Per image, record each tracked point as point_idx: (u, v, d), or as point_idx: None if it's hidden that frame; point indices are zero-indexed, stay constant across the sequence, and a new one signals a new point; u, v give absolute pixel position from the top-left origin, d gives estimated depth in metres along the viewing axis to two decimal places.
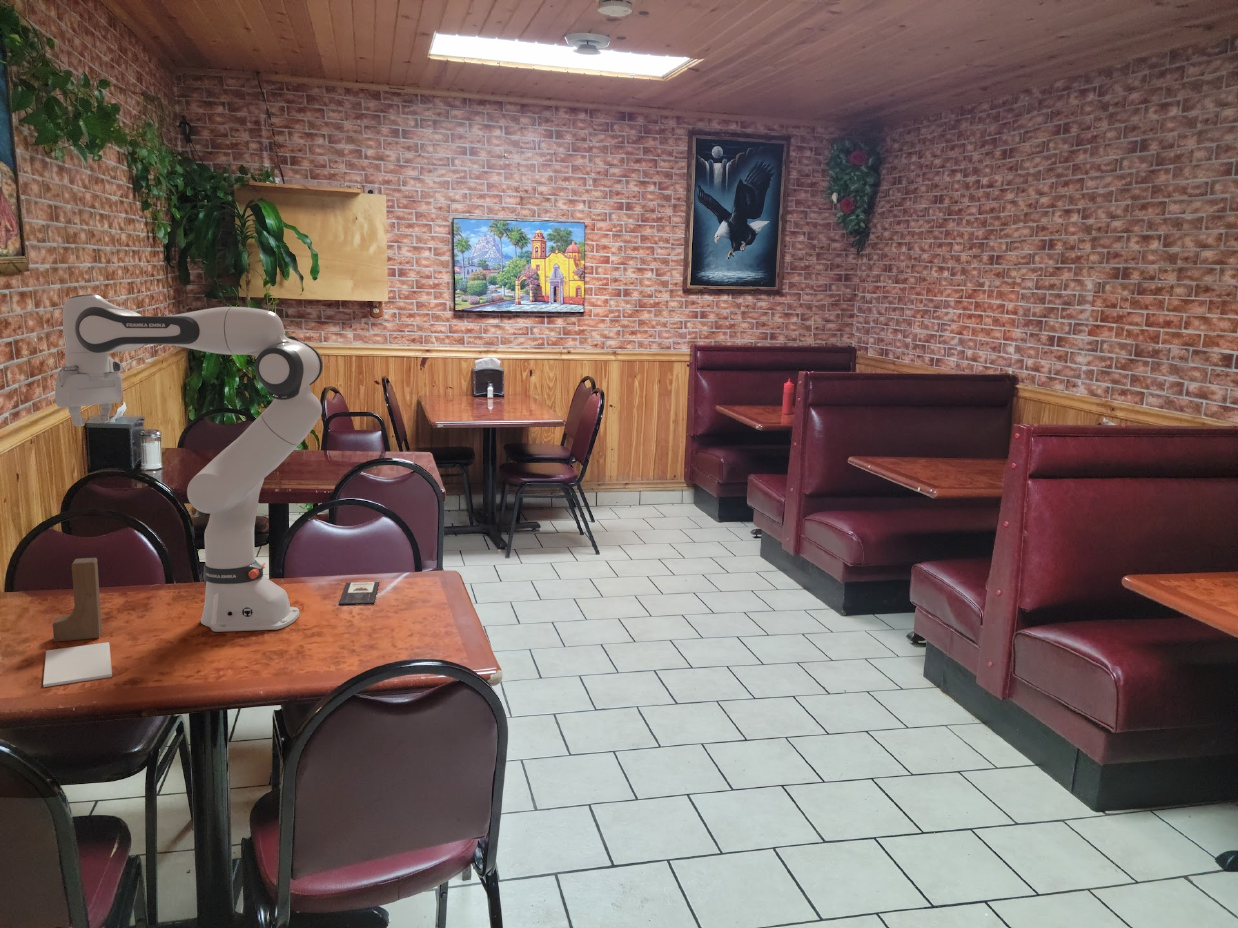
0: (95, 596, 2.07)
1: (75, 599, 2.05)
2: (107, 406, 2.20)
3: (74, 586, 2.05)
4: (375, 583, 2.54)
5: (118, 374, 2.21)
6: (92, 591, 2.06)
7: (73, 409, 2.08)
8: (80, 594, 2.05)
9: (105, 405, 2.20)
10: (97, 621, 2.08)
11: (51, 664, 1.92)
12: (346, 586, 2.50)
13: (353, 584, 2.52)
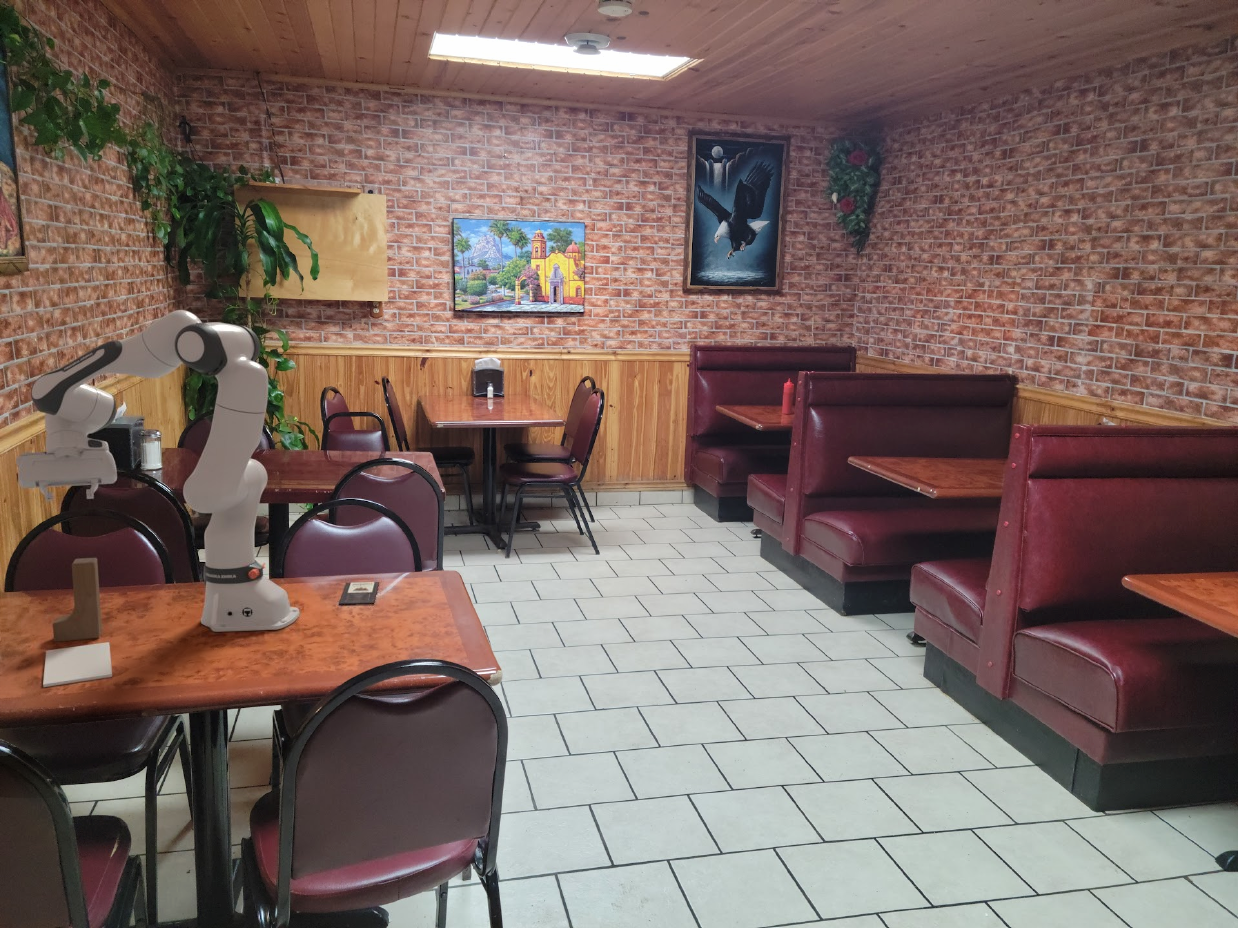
0: (95, 596, 2.07)
1: (75, 599, 2.05)
2: None
3: (74, 586, 2.05)
4: (375, 583, 2.54)
5: (103, 451, 2.22)
6: (92, 591, 2.06)
7: (39, 486, 2.14)
8: (80, 594, 2.05)
9: (91, 482, 2.19)
10: (97, 621, 2.08)
11: (51, 664, 1.92)
12: (346, 586, 2.50)
13: (353, 584, 2.52)
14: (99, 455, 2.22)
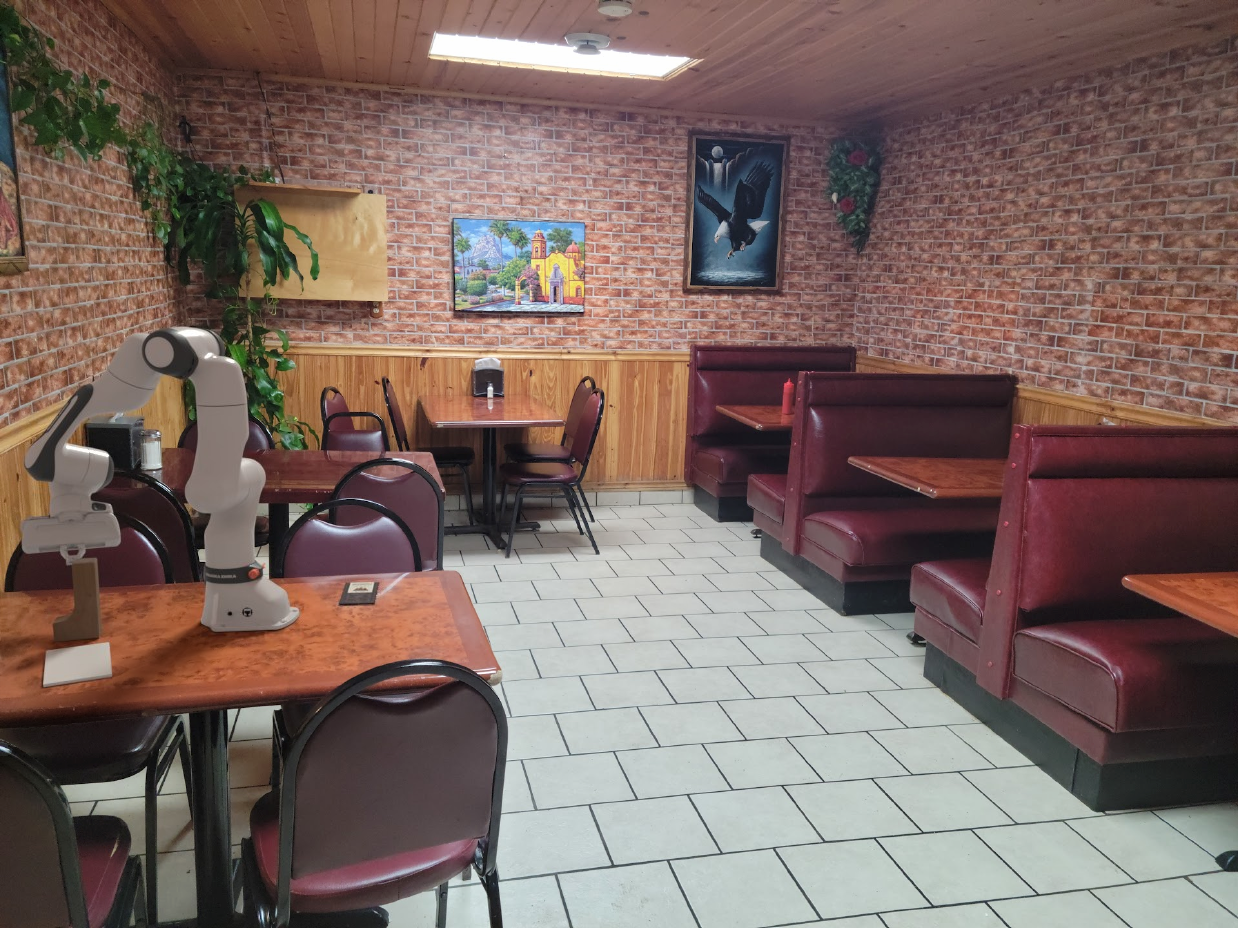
0: (95, 596, 2.07)
1: (75, 599, 2.05)
2: (78, 547, 2.16)
3: (74, 586, 2.05)
4: (375, 583, 2.54)
5: (107, 514, 2.22)
6: (92, 591, 2.06)
7: (60, 550, 2.15)
8: (80, 594, 2.05)
9: (78, 547, 2.17)
10: (97, 621, 2.08)
11: (51, 664, 1.92)
12: (346, 586, 2.50)
13: (353, 584, 2.52)
14: (103, 518, 2.21)
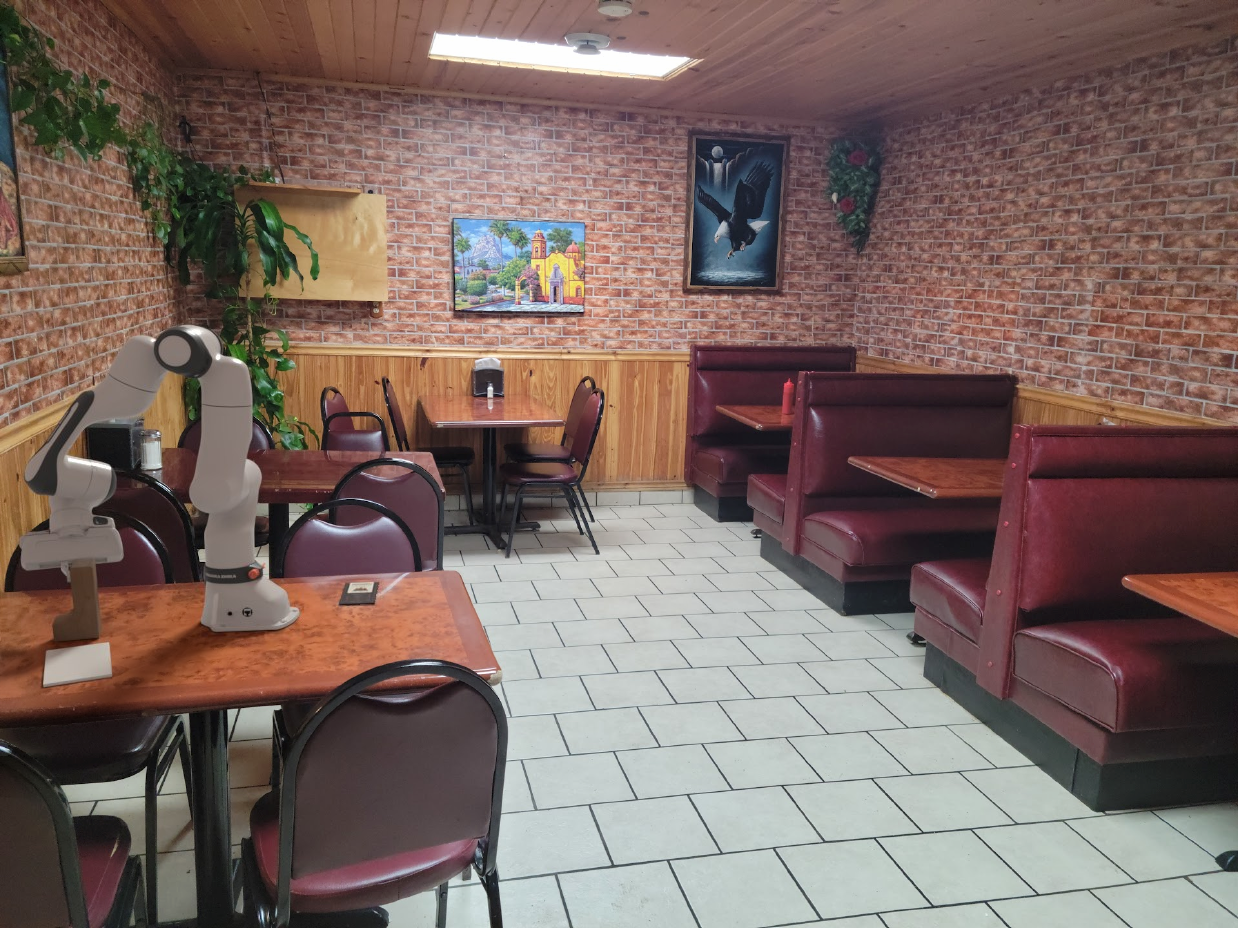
0: (94, 599, 2.05)
1: (74, 602, 2.04)
2: None
3: (72, 589, 2.03)
4: (375, 583, 2.54)
5: (109, 528, 2.15)
6: (91, 594, 2.05)
7: (60, 566, 2.08)
8: (78, 597, 2.04)
9: None
10: (97, 622, 2.07)
11: (51, 664, 1.92)
12: (345, 586, 2.50)
13: (352, 584, 2.52)
14: (105, 532, 2.14)
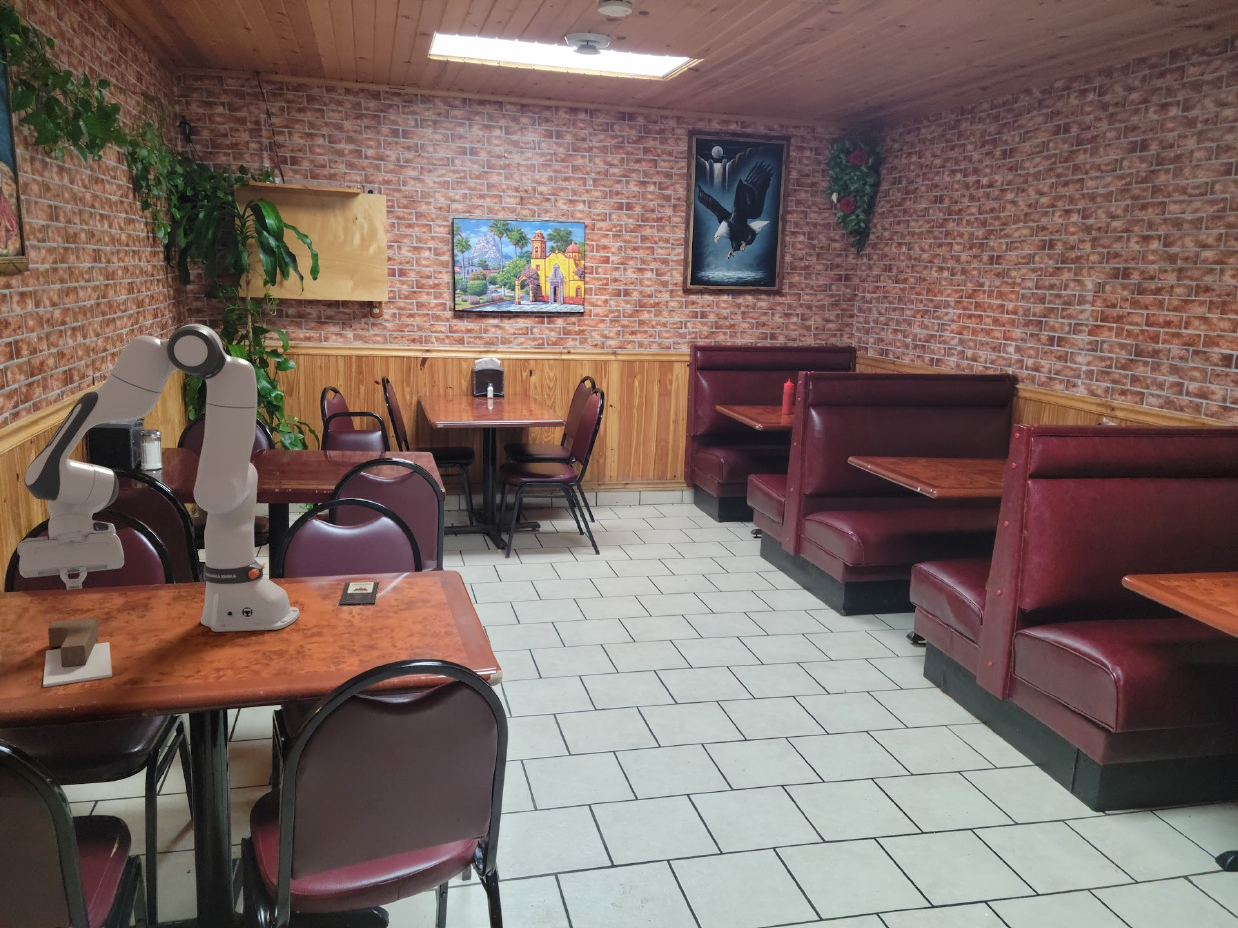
0: (90, 651, 1.99)
1: None
2: None
3: None
4: (375, 583, 2.54)
5: (109, 534, 2.09)
6: None
7: (60, 573, 2.02)
8: None
9: (79, 570, 2.04)
10: (95, 641, 2.04)
11: (51, 664, 1.92)
12: (345, 586, 2.50)
13: (352, 584, 2.52)
14: (105, 539, 2.09)
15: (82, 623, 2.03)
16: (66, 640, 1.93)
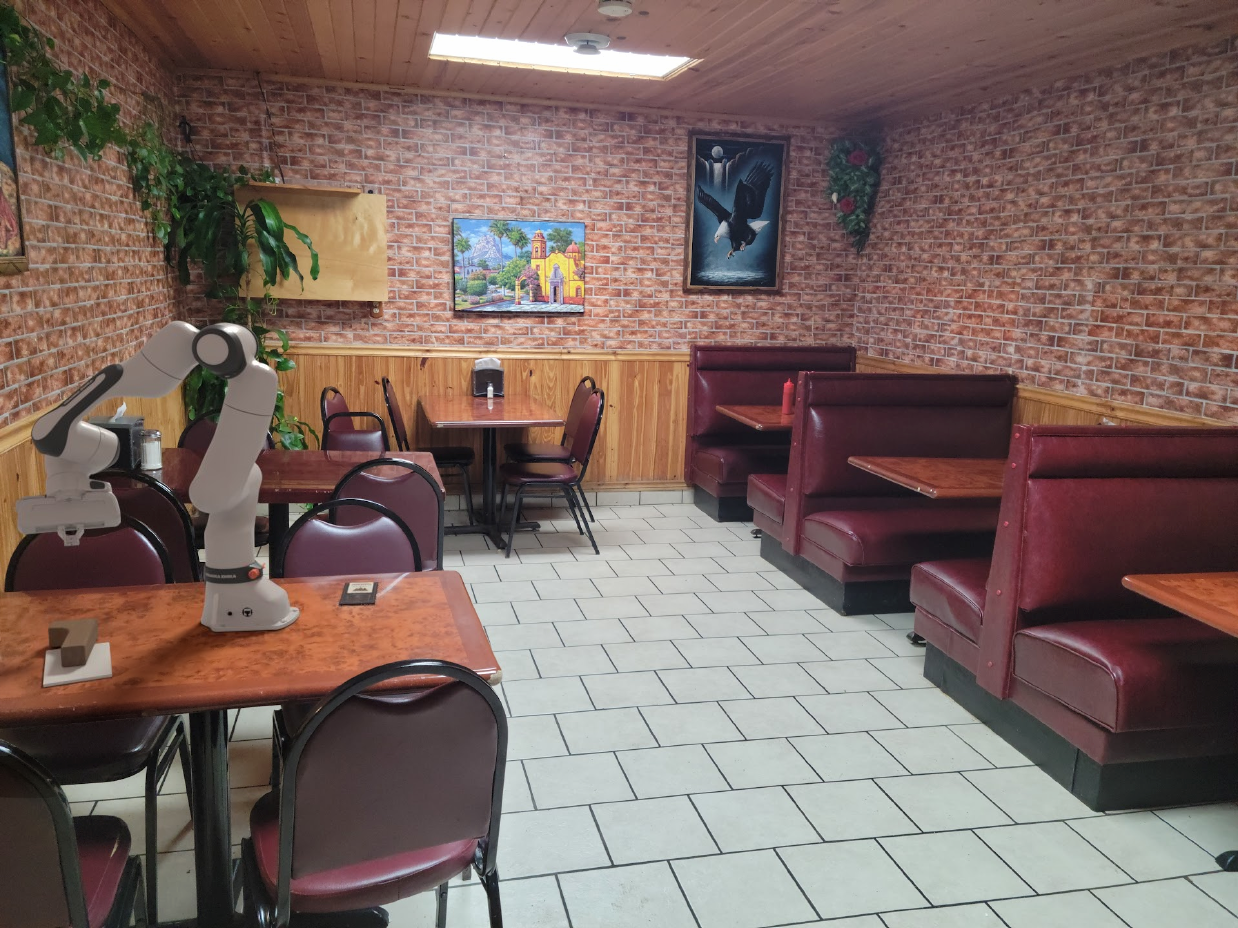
0: (90, 651, 1.99)
1: None
2: (76, 527, 2.07)
3: None
4: (375, 583, 2.54)
5: (106, 492, 2.12)
6: None
7: (57, 530, 2.06)
8: None
9: (76, 527, 2.07)
10: (95, 641, 2.04)
11: (51, 664, 1.92)
12: (345, 586, 2.50)
13: (352, 584, 2.52)
14: (102, 497, 2.12)
15: (82, 623, 2.03)
16: (66, 640, 1.93)
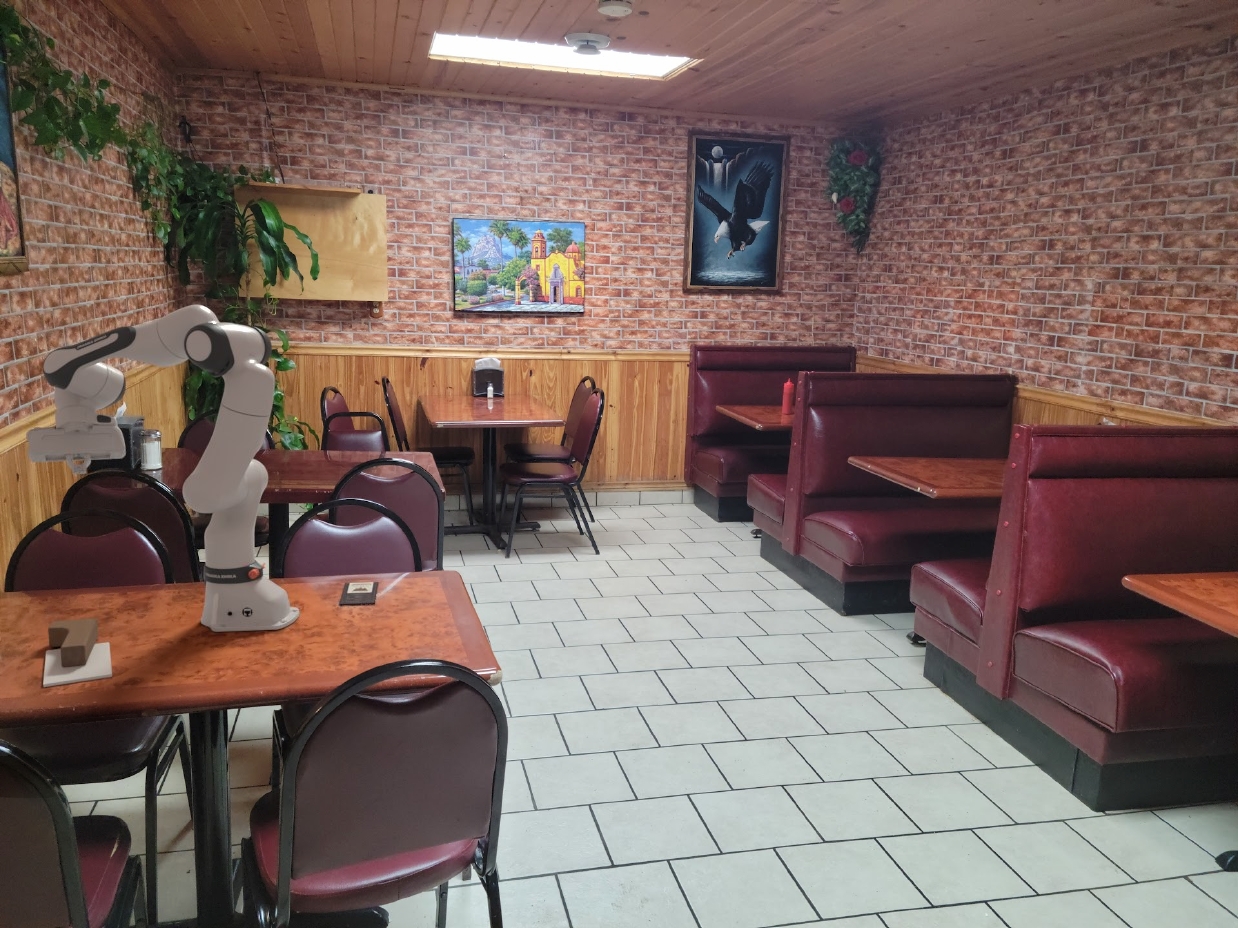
0: (90, 651, 1.99)
1: None
2: (84, 457, 2.19)
3: None
4: (374, 583, 2.54)
5: (112, 426, 2.24)
6: None
7: (66, 459, 2.17)
8: None
9: (83, 457, 2.19)
10: (95, 641, 2.04)
11: (51, 664, 1.92)
12: (345, 586, 2.50)
13: (352, 584, 2.52)
14: (108, 430, 2.24)
15: (82, 623, 2.03)
16: (66, 640, 1.93)
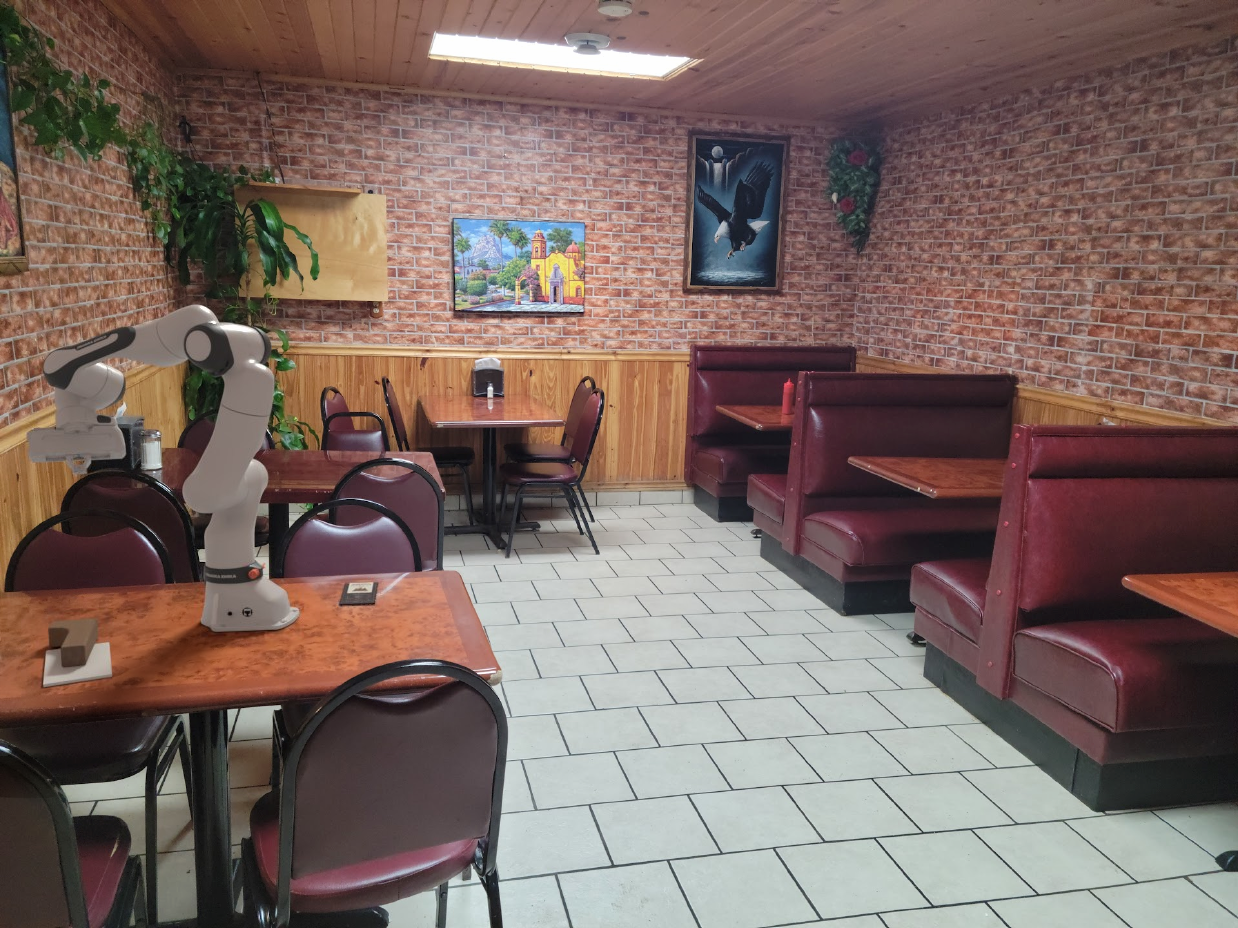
0: (90, 651, 1.99)
1: None
2: (84, 457, 2.19)
3: None
4: (374, 583, 2.54)
5: (112, 426, 2.24)
6: None
7: (66, 459, 2.18)
8: None
9: (84, 457, 2.19)
10: (95, 641, 2.04)
11: (51, 664, 1.92)
12: (345, 586, 2.50)
13: (352, 584, 2.52)
14: (108, 430, 2.24)
15: (82, 623, 2.03)
16: (66, 640, 1.93)
